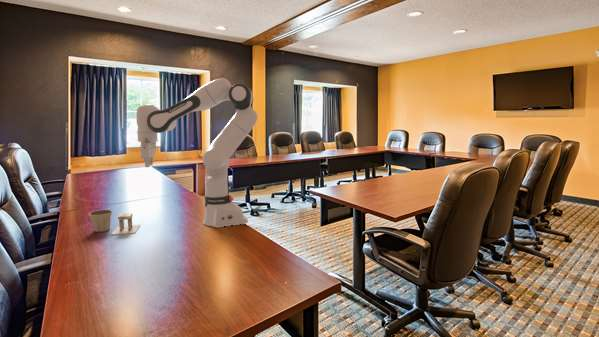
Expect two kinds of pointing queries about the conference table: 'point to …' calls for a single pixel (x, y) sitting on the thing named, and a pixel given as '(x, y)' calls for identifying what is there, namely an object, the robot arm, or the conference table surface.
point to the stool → (124, 217)
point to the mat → (125, 230)
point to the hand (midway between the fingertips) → (149, 165)
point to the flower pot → (101, 220)
